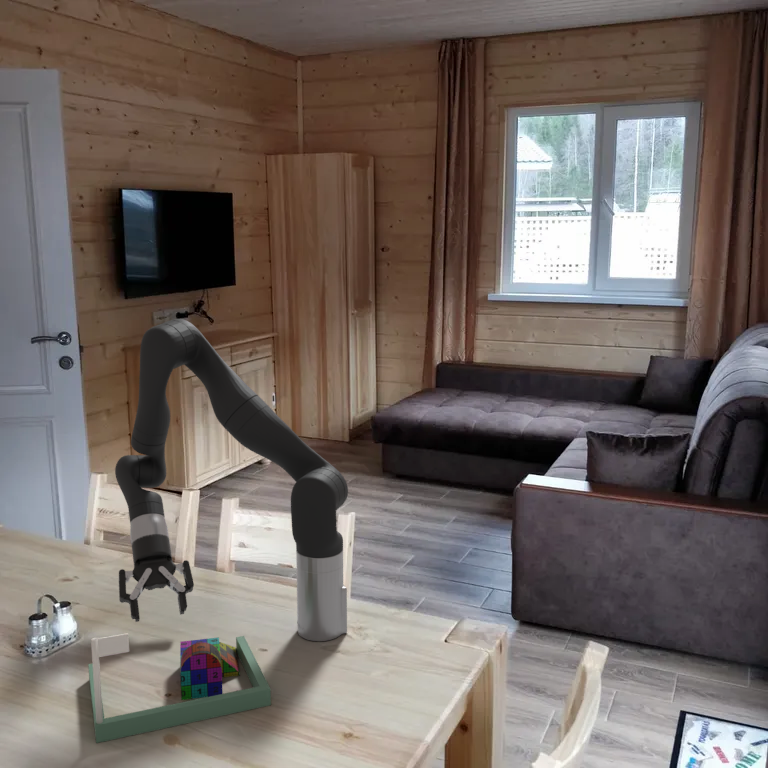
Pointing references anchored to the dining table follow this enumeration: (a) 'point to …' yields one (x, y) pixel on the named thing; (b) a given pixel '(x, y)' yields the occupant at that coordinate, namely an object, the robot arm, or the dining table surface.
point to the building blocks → (205, 667)
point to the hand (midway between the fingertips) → (160, 616)
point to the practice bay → (174, 712)
